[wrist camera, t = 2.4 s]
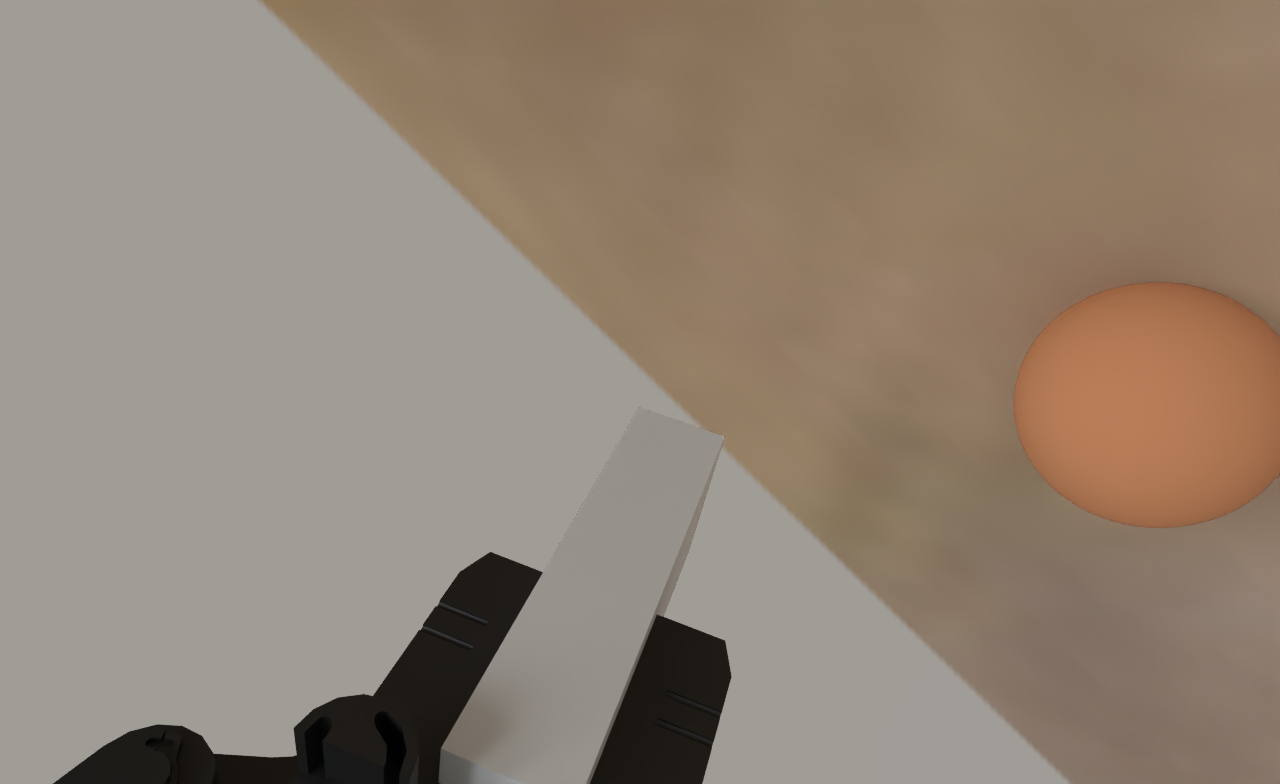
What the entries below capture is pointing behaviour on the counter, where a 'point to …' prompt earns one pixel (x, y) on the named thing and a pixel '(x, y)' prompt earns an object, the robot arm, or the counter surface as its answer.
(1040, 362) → the ball
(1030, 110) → the counter surface
